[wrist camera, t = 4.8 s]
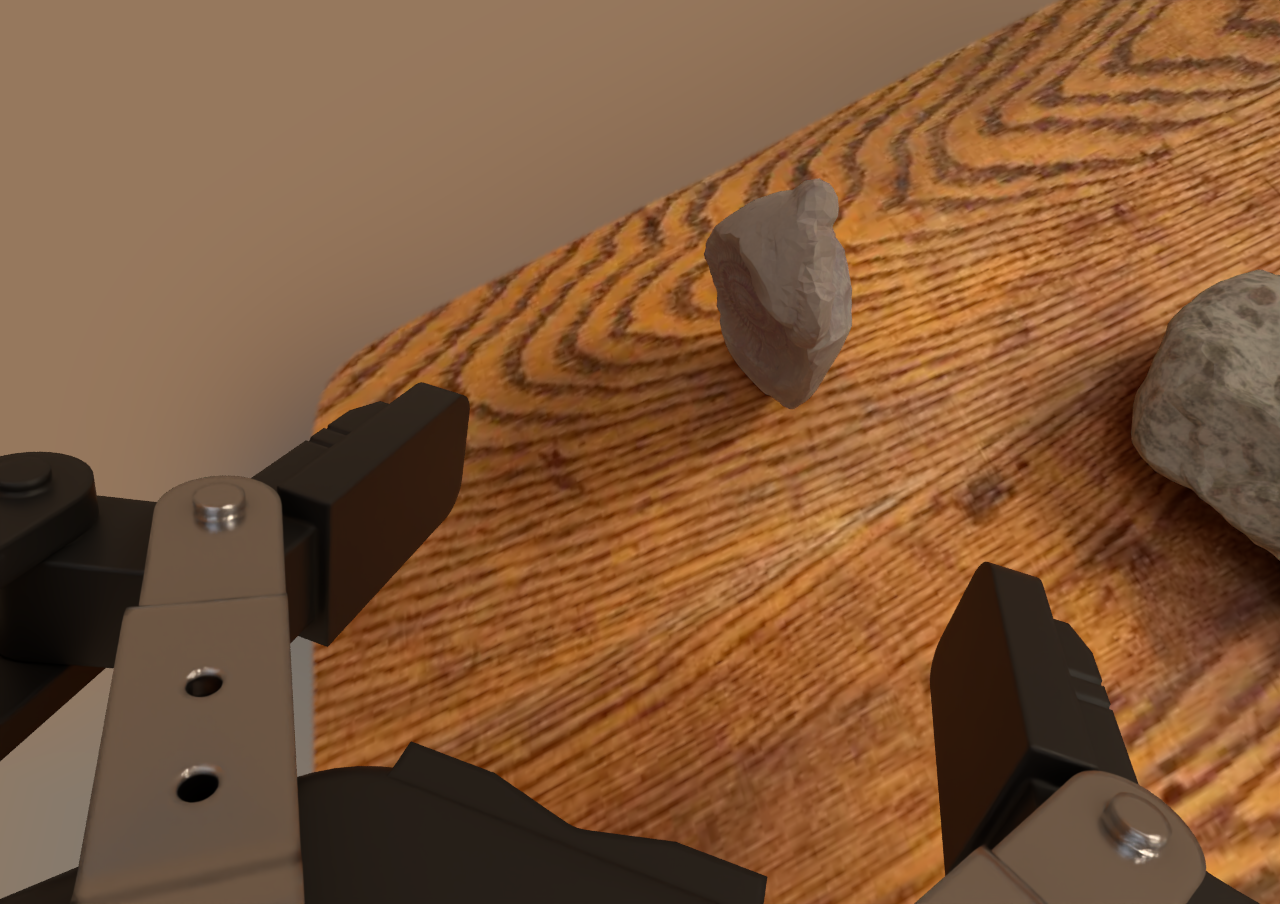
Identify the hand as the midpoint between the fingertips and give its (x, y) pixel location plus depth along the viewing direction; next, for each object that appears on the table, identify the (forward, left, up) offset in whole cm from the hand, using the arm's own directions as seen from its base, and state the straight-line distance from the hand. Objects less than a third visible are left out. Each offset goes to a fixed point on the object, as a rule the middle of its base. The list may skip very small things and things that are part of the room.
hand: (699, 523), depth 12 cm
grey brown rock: (-3, +10, -15) cm, 18 cm away
